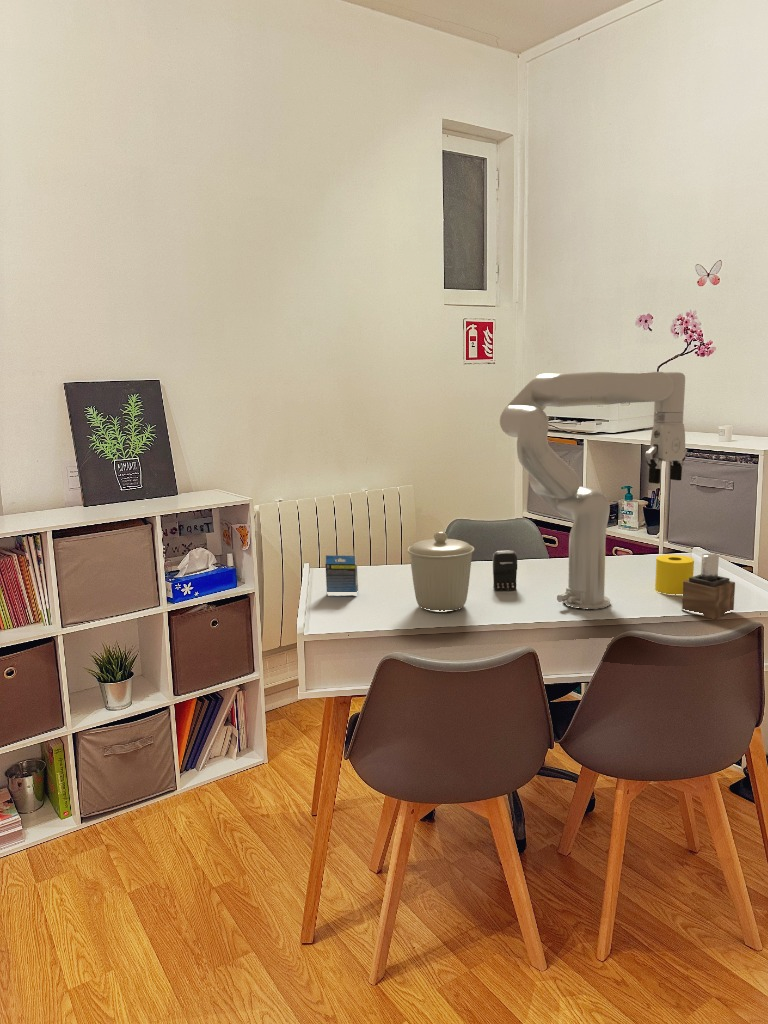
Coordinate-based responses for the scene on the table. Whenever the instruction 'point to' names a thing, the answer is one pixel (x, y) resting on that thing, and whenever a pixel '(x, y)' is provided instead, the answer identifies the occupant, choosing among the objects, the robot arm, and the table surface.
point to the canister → (441, 572)
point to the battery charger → (504, 570)
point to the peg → (709, 567)
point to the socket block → (708, 596)
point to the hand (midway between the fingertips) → (665, 481)
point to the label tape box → (341, 574)
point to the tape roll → (673, 573)
